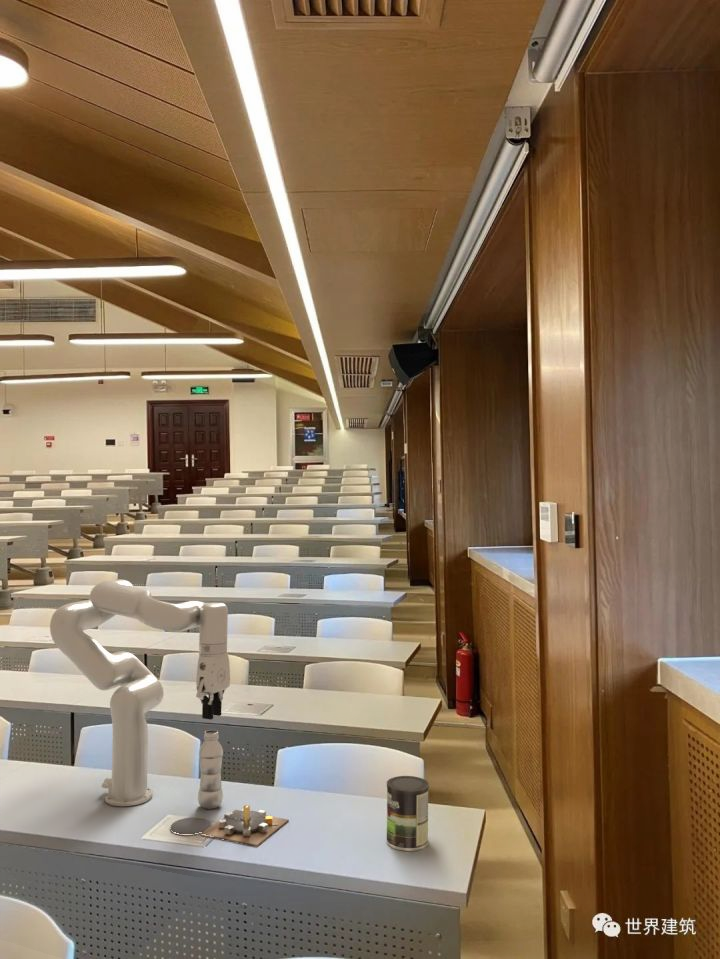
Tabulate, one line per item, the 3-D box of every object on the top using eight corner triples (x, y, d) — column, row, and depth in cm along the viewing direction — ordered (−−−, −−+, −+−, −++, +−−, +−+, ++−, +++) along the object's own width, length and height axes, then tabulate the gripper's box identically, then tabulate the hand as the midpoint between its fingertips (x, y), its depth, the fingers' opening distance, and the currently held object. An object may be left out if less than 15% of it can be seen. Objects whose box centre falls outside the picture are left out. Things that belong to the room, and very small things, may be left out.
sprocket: (236, 841, 176) (237, 814, 177) (209, 823, 186) (209, 798, 187) (282, 826, 185) (282, 801, 185) (253, 810, 195) (254, 786, 195)
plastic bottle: (217, 812, 195) (218, 736, 196) (193, 810, 197) (194, 734, 198) (226, 803, 202) (227, 729, 203) (203, 801, 203) (204, 727, 204)
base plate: (200, 835, 181) (200, 832, 181) (235, 811, 196) (235, 808, 196) (257, 847, 175) (257, 844, 175) (288, 821, 190) (288, 818, 190)
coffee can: (396, 854, 172) (396, 793, 173) (379, 836, 182) (380, 778, 182) (436, 847, 176) (436, 787, 176) (417, 830, 185) (417, 773, 186)
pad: (162, 831, 183) (162, 829, 183) (186, 816, 193) (186, 814, 193) (195, 838, 180) (195, 836, 180) (218, 823, 189) (218, 821, 189)
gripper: (207, 655, 192) (205, 726, 191) (240, 645, 207) (239, 711, 207) (183, 652, 195) (182, 723, 194) (218, 643, 210) (217, 708, 209)
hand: (211, 716), depth 200 cm, fingers open, 3 cm apart
